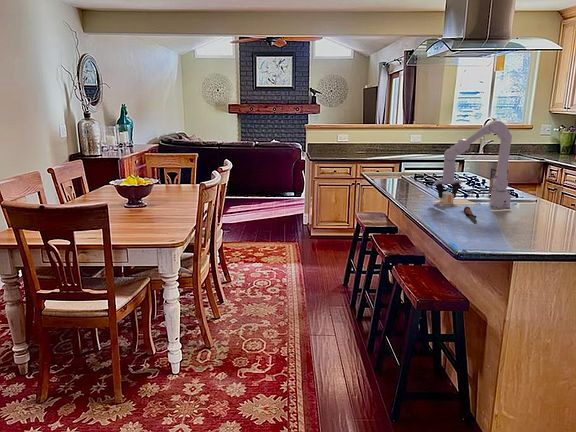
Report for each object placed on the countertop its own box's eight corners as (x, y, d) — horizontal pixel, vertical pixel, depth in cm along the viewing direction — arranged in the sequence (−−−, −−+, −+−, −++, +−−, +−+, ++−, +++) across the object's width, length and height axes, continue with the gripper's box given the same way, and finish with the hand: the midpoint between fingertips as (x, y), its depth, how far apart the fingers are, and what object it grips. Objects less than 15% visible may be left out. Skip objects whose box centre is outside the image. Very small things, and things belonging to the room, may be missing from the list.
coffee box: (487, 195, 265) (490, 168, 262) (498, 195, 265) (501, 168, 261) (494, 198, 256) (497, 170, 253) (505, 198, 256) (508, 170, 253)
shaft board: (478, 206, 235) (479, 197, 234) (443, 207, 231) (444, 199, 230) (461, 200, 250) (462, 192, 249) (428, 201, 246) (429, 193, 245)
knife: (483, 223, 196) (472, 220, 197) (481, 230, 197) (470, 227, 198) (473, 207, 220) (462, 205, 221) (471, 213, 221) (460, 211, 222)
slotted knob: (440, 201, 242) (440, 192, 241) (447, 201, 243) (448, 192, 242) (445, 203, 236) (446, 194, 235) (453, 203, 237) (454, 193, 236)
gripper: (440, 173, 231) (438, 199, 234) (465, 172, 233) (463, 198, 237) (433, 171, 238) (431, 197, 241) (458, 170, 240) (456, 195, 243)
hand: (446, 197), depth 239 cm, fingers open, 7 cm apart
